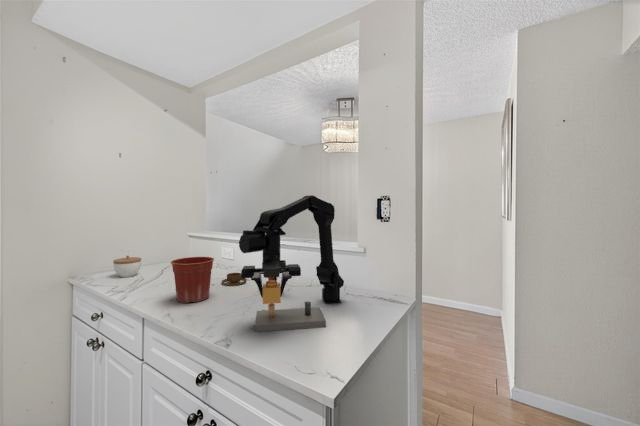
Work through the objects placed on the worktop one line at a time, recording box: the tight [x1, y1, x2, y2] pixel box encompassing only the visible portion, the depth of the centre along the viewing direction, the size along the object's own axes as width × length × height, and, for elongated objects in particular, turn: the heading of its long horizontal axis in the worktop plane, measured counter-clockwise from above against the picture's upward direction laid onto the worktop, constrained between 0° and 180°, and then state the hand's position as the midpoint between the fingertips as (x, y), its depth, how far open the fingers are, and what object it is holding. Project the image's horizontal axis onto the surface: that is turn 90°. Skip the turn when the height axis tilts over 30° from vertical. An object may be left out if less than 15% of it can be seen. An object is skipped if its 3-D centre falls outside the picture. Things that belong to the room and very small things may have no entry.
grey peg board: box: [254, 301, 327, 333], centre depth 92 cm, size 22×12×6 cm, turn 100°
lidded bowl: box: [112, 255, 142, 278], centre depth 153 cm, size 13×13×11 cm
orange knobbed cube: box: [262, 280, 282, 305], centre depth 91 cm, size 6×6×6 cm
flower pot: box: [170, 256, 215, 304], centre depth 115 cm, size 16×16×16 cm
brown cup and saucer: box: [211, 272, 252, 287], centre depth 141 cm, size 18×20×6 cm
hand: (271, 297), depth 91 cm, fingers closed on orange knobbed cube, 6 cm apart
